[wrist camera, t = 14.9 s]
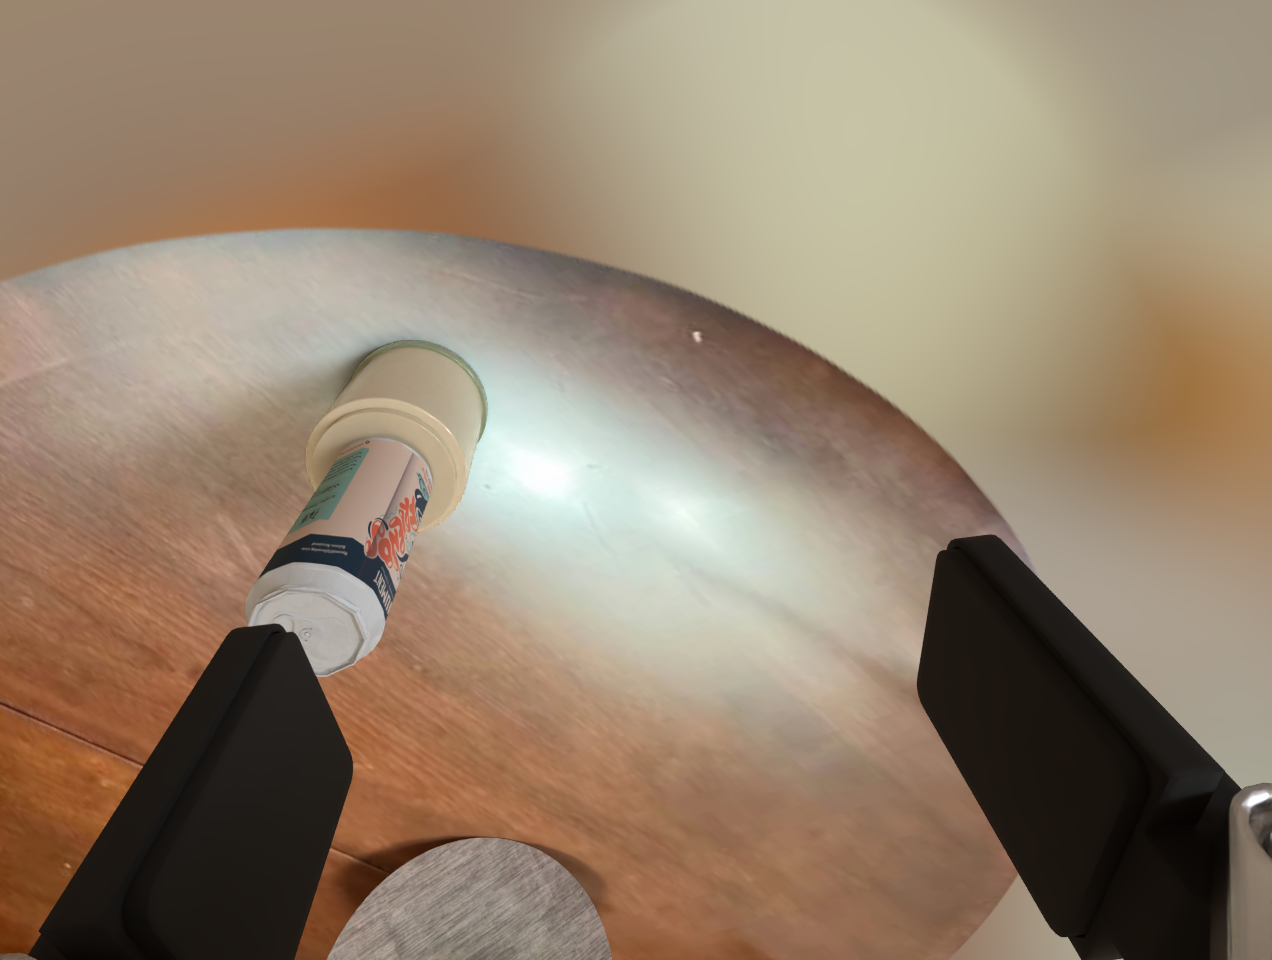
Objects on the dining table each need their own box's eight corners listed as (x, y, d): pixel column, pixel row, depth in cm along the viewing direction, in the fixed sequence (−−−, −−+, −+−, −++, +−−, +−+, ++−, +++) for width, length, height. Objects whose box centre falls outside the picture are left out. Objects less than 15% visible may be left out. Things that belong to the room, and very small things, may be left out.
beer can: (414, 529, 36) (352, 701, 25) (323, 495, 35) (218, 661, 24) (448, 456, 34) (397, 609, 24) (354, 417, 33) (255, 560, 22)
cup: (406, 311, 40) (364, 363, 32) (515, 403, 43) (503, 473, 35) (321, 407, 42) (262, 479, 34) (431, 487, 46) (401, 572, 37)
